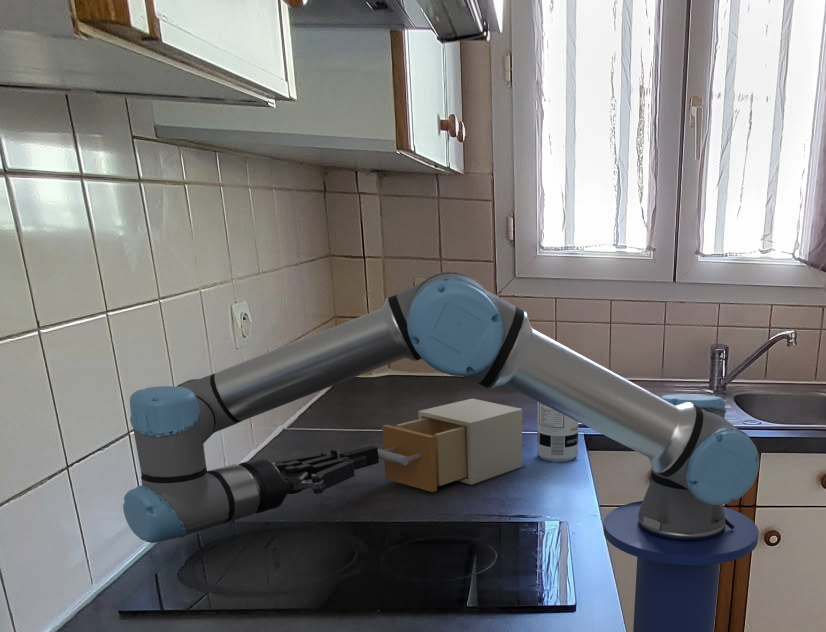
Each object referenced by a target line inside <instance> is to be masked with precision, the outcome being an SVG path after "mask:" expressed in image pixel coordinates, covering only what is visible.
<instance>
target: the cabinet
mask: <svg viewBox="0 0 826 632" xmlns="http://www.w3.org/2000/svg"><path fill="white" fill-rule="evenodd" d="M417 415H418V419H422V418H426V417H428V418H432V419H437V420H441V421H445V422H450V423H454V424H458V425H463V426H467V452H468V477H465V478H462V479H459V480H456V482H460V483H463V484H466V485H471V486H473V485H475V484H477V483H480V482H483V481H487V480H490V479H492V478H494V477H498V476H501V475H503V474H506V473H509V472H511V471H514V470H517V469H519V468H522V467H523V408H519V407H515V406H510V405H505V404H500V403H495V402H490V401H487V400H481V399H477V398H468V399H465V400H461V401H460V400H459V401H455V402H451V403H447V404H441V405H438V406H433V407H430V408H426V409H422V410H421V409H420V410H418V411H417Z"/></svg>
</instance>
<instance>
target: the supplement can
mask: <svg viewBox="0 0 826 632" xmlns="http://www.w3.org/2000/svg"><path fill="white" fill-rule="evenodd" d="M536 420H537V422H536V423H537V426H536V427H537V430H536V432H537V433H536V435H537V437H536V440H537V442H536V454H537V455H538V456H539V457H540V458H541V459H542V460H545V461H548V462H556V463H557V462H558V463H559V462H569V461H572V460H573V459H575V457H577V456H578V454H579V453H578V452H579V422H577V421H575V420H573V419H571V418H569V417H567V416H565V415H563V414H561V413H559V412H557V411H556V410H554V409H552V408H550V407H548V406H546V405H544V404H542V403H540V402H538V401H537V419H536Z"/></svg>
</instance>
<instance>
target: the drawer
mask: <svg viewBox="0 0 826 632" xmlns="http://www.w3.org/2000/svg"><path fill="white" fill-rule="evenodd" d="M381 431H382V447H383V449H380V448H378V460H383V463H384V477H385V480H389V481H391V482H395V483H399V484H401V485H402V484H403V485H406V486H408V487H412V488H415V489H418V490H423V491H427V492H430V493H435V492H437V491H438V487H441V486H444V485H447V484H451V483H453V482H455V481H456V480H459V479H462V478H465V477H468V452H467V426H463V425H458V424H454V423H450V422H445V421H441V420H437V419H432V418H428V417H426V418H422V419H419V418H418V419H414V420H411V421H406V422H402V423H398V424H395V425H390V424H384V425H381ZM456 482H457V481H456Z"/></svg>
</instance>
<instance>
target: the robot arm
mask: <svg viewBox="0 0 826 632" xmlns="http://www.w3.org/2000/svg"><path fill="white" fill-rule="evenodd" d="M403 359H408V360H411V361H413V362H417V361H419V360H423V361H424V362H425V364H427V365H428V366H430V367H431V368H432V369H434V370H436V371H438V372H440V373H442V374H446V375H449V376H455V377H463V378H465V379H467V380H469V381H471V382H473V383H475V384H477V385H479V386H482V387H483V388H485V389H487V390H491V389H493V388H497V387H500V386H506V387H508V388H510V389H512V390H514V391H516V392H518V393H520V394H521V395H524V396H526V397H528V398H531V399H532V400H534V401H536V402H537V403H538V402H540V403H542V404H544V405H546V406H548V407H550V408H552V409H554V410H556V411H557V412H559V413H561V414H563V415H565V416H567V417H569V418H571V419H573V420H575V421H577V422H578V424H582V425H584V426H586V427H587V428H590V429H591V430H593V431H595V432H597V433H599V434H601V435H603V436H605V437H607V438H609V439H611V440H613V441H615V442H616V443H619V444H621V445H622V446H625V447H627V448H628V449H631V450H633V451H635V452H637V453H639V454H641V455H643V456H645V457H647V458H648V461H649V463H650V467H651V468H650V470H651V471H650V482H649V484H648V487H647V490H646V492H645V494H644V497H643V499H642V501H643V502H642V504H641V507H640V509H639V513H638V526H639V527H640V528H641V529H642V530H643V531H645V532H646V533H648V534H650V535H653V536H655V537H659V538H663V539H667V540H674V541H703V540H709V539H712V538H715V537H718V536H719V535H721V534H722V533H723V532H724V530H725V524H726V525H727V526H728V527H730V528H731V529H733V528H734V527H735V526H734V525H732V524H731V523H730V522H729V521H728V520H727V519H726V518H725V513H724V509H723V507H724V505H727V504H729V503H732V502H734V501H737V500H738V499H741V498H742V497H743V496H744V495H745V494H746V493H747V492H748V491H749V490H750V489H751V487H752V486H753V485H754V483H755V482H756V478H757V476H758V473H759V469H760V455H759V452H758V449H757V447H756V445H755V443H754V442H753V440H752V439H751V437H750V436H749V435H748V434H747V433H746V432H745V431H742V429H741V430H740V429H739V428H738V427H736V426H735V425H733V424H732V423H731V422H730V421H729V420H727V419H726V418H725V417H726V413H727V409H726V401H725V399H724V398H722V397H720V396H716V395H715V396H714V395H707V394H690V393H689V394H687V393H686V394H683V393H682V394H681V393H680V394H664V395H661V396H657V395H656V394H654V393H652V392H650V391H649V390H646V389H645V388H643V387H642V386H639V385H638V384H635V383H633V382H632V381H630V380H628V379H627V378H624V377H623V376H621V375H619V374H617V373H616V372H613V371H611V370H610V369H608V368H607V367H605V366H602V365H601V364H599V363H597V362H595V361H593V360H591V359H589V358H588V357H586V356H584V355H582V354H580V353H578V352H576V351H575V350H572V349H571V348H569V347H567V346H566V345H563V343H560V342H558V341H556V340H555V339H553V338H550V337H549V336H547V335H545V334H543V333H541V332H540V331H538V330H536V329H534V328H533V327H532V325H531V322H530V320H529V317H528V313H527V312H526V311H524V310H523V309H521V308H519V307H517V306H516V305H514V304H512V303H510V302H508V301H507V300H505V299H504V298H501V297H499V296H497V295H495V294H494V293H492V292H490V291H488V290H487V289H486V288H485V287H484V286H483V285H482V284H481V283H480V282H479V281H477V280H476V279H474V278H473V277H472V276H469V275H467V274H464V273H462V272H456V271H443V272H439V273H435V274H433V275H431V276H429V277H428V278H426V279H424V280H422V281H421V282H419V283H417V284H416V285H413V286H411V287H410V288H407V289H405V290H404V291H400V292H399V293H396V294H394V295H392V296H389V297H387V298H385V300H384V302H383V305H382V307H381V308H379V309H376V310H374V311H371V312H369V313H366V314H363V315H361V316H358V317H355V318H353V319H351V320H348V321H345V322H343V323H340V324H337V325H335V326H332V327H330V328H327V329H325V330H322V331H319V332H316V333H314V334H312V335H309V336H307V337H304V338H301V339H299V340H296V341H294V342H291V343H288V344H286V345H283V346H281V347H280V346H279V347H278V348H276V349H273V350H270V351H268V352H265V353H262V354H260V355H257V356H255V357H251V358H250V359H247V360H245V361H242V362H239V363H236V364H234V365H231V366H228V367H227V368H224V369H221V370H219V371H216V372H215V373H212V374H209V375H206V376H204V377H201V378H193V379H189V380H186V381H183V382H181V383H180V384H178V385H176V386H175V385H160V386H150V387H149V386H148V387H146V388H142V389H138V390H135V391H134V392H133V393H132V394H131V395H130V397H129V408H130V420H129V421H130V425H131V427H132V430H133V436H134V441H135V445H136V451H137V457H138V463H139V469H140V475H141V476H140V480H141V485H139V486H136V487H135V488H132V489H129V490H128V491H127V492H126V493H125V495H124V497H123V501H124V503H123V504H122V506H123V507H122V509H123V514H124V518H125V520H126V523H127V525H128V527H129V528H130V530H131V531H132V533H133V534H134V535H135V536H136V537H137V538H138V539H140V540H142V541H145V542H146V543H150V544H156V543H160V542H164V541H169V540H174V539H177V538H184V537H186V536H188V535H191V534H194V533H198V532H201V531H204V530H206V529H209V528H210V529H211V528H213V527H216V526H219V525H223V524H226V523H227V524H234V523H235V522H236V520H239V519H243V518H247V517H251V516H252V515H255V514H261V513H264V512H268V511H271V510H274V509H277V508H280V506H281V505H282V504H283V502H284V501H285V499H286V497H287V496H288V495H295V494H298V493H301V492H302V491H303V490H306V489H310V490H312V491H313V494H315V495H319V494H323V492H325V490H327V489H329V488H332V487H334V486H336V485H338V484H340V483H342V482H345V481H347V480H349V479H351V478H354V477H355V476H356V475H355V471H356V470H359V469H363V468H366V467H369V466H373V465H377V464H379V462H380V461H379V460H380V459H378V449H379V448H378V447H377V446H374V445H367V446H365V447H361V448H358V449H353V450H349V451H346V452H342V453H339V452H338V450H337V449H330V454H328V453H327V452H319V453H313V454H305V455H300V456H294V457H288V458H282V459H273V460H269V459H266V458H255V459H252V460H248V461H243V462H240V463H238V464H237V463H234V464H229V465H225V466H221V467H217V468H214V469H209V470H208V469H207V468H208V467H207V461H206V455H205V454H206V453H205V446H204V444H205V443H206V442H207V441H208V440H209V438H211V436H213V434H216V433H217V432H219V431H222V430H225V429H228V428H230V427H233V426H234V425H238V424H239V423H242V422H243V421H246V420H249V419H251V418H253V417H256V416H259V415H260V414H264V413H266V412H269V411H271V410H274V409H276V408H279V407H282V406H285V405H288V404H290V403H292V402H294V401H298V400H300V399H303V398H305V397H308V396H311V395H312V394H315V393H318V392H321V391H323V390H326V389H328V388H330V387H334V386H336V385H339V384H341V383H343V382H347V381H349V380H351V379H355V378H357V377H360V376H362V375H365V374H367V373H370V372H372V371H374V370H377V369H381V368H382V367H385V366H387V365H390V364H393V363H396V362H398V361H401V360H403ZM338 453H339V454H338Z"/></svg>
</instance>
